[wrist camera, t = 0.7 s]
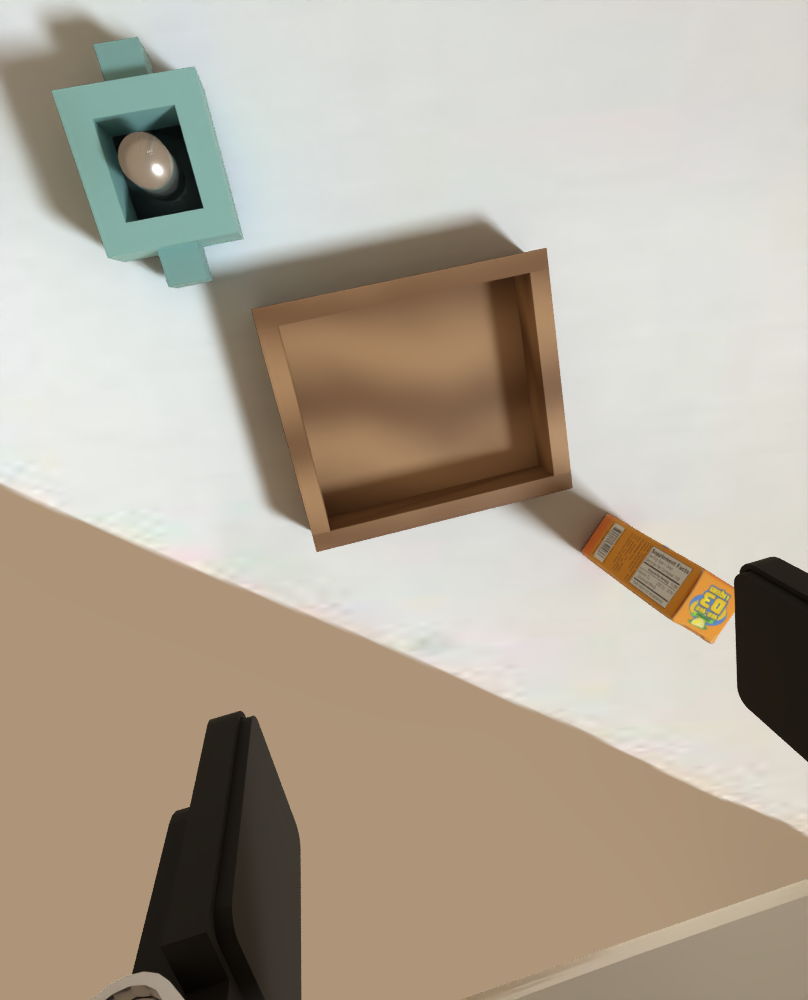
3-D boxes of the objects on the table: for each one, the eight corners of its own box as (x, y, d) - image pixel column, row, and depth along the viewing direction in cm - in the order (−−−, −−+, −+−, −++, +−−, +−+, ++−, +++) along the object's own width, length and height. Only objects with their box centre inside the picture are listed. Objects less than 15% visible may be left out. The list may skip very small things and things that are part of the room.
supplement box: (644, 530, 40) (752, 599, 30) (614, 572, 40) (710, 652, 31) (607, 506, 39) (707, 570, 29) (577, 550, 39) (665, 627, 30)
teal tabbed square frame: (61, 70, 26) (35, 44, 24) (193, 48, 27) (182, 20, 24) (136, 296, 30) (120, 295, 27) (252, 272, 30) (248, 269, 27)
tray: (255, 309, 32) (251, 309, 29) (525, 253, 33) (546, 247, 30) (315, 532, 36) (316, 552, 33) (551, 474, 37) (572, 488, 34)
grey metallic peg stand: (94, 131, 28) (55, 97, 24) (204, 112, 29) (187, 75, 24) (132, 249, 30) (102, 239, 25) (236, 229, 30) (225, 215, 26)
